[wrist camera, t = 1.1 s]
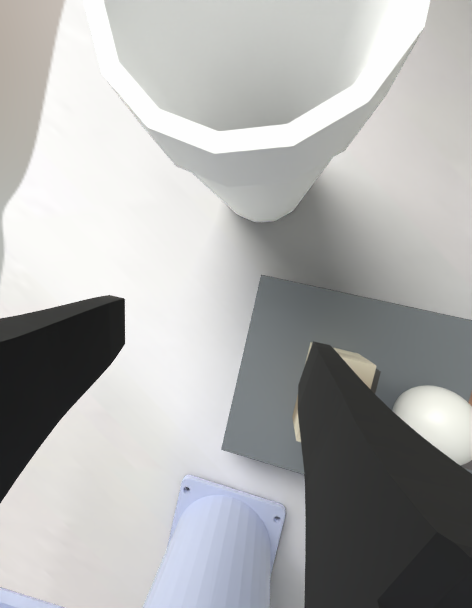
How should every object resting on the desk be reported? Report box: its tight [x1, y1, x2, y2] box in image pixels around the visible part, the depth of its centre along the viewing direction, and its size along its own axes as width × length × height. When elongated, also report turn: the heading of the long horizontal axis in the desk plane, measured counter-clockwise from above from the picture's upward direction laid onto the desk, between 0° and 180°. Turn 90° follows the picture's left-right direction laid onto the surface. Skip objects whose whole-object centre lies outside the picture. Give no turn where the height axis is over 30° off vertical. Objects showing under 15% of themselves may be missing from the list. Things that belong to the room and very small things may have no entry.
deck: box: [221, 275, 472, 474], centre depth 18 cm, size 12×21×2 cm, turn 77°
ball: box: [392, 385, 472, 465], centre depth 15 cm, size 4×4×4 cm
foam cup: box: [84, 0, 430, 222], centre depth 14 cm, size 10×9×13 cm
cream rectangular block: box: [292, 342, 381, 442], centre depth 16 cm, size 5×3×3 cm
